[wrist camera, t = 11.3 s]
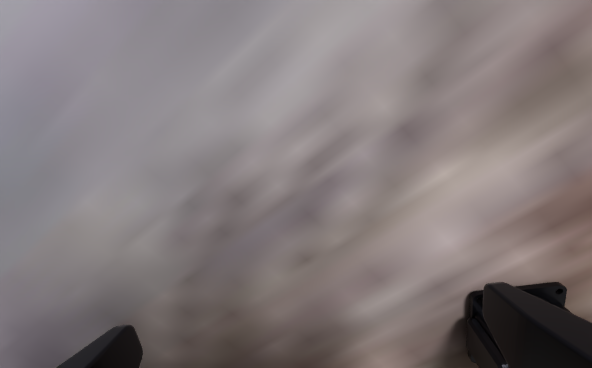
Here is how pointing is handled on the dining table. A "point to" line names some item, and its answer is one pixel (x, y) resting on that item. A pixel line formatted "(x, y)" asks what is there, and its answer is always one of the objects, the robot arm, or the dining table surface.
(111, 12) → the dining table surface
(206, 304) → the dining table surface
